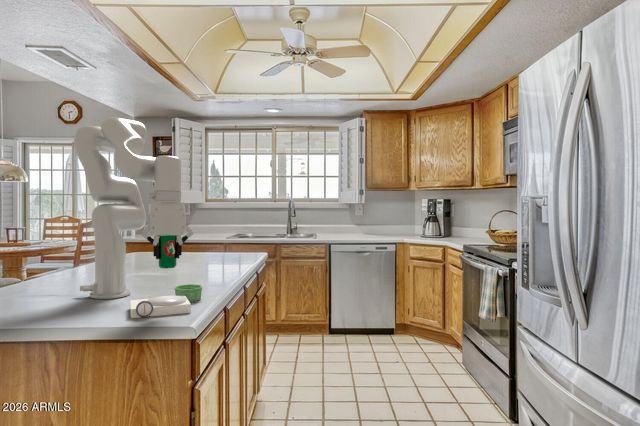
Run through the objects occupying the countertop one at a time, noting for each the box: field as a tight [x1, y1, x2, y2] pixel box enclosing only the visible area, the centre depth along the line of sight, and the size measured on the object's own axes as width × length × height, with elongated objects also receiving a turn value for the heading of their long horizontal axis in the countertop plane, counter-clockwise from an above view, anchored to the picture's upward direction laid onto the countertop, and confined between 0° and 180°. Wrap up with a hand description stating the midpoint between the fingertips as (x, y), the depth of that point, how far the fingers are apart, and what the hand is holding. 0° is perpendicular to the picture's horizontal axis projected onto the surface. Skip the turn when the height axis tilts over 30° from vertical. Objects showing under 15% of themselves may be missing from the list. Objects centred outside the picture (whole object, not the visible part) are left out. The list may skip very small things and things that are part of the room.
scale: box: [129, 295, 192, 319], centre depth 124 cm, size 16×13×4 cm
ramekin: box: [173, 283, 203, 303], centre depth 139 cm, size 9×9×4 cm
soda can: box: [158, 235, 178, 269], centre depth 125 cm, size 5×5×12 cm
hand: (167, 257), depth 125 cm, fingers closed on soda can, 5 cm apart
